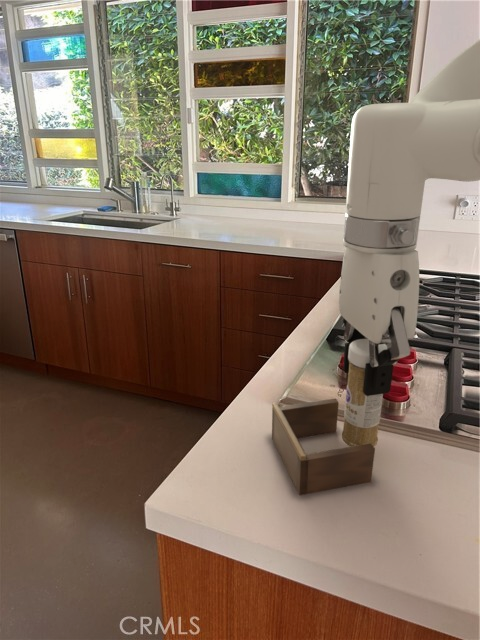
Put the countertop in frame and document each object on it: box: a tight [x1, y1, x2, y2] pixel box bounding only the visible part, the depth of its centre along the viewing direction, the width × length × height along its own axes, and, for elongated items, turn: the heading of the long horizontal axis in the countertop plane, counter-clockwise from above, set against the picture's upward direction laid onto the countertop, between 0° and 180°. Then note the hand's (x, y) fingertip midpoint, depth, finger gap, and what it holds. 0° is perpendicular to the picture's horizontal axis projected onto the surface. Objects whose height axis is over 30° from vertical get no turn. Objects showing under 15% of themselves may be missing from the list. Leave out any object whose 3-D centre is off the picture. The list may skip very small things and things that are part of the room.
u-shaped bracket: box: [271, 398, 376, 496], centre depth 58 cm, size 9×11×6 cm
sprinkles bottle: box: [341, 339, 387, 448], centre depth 57 cm, size 5×5×14 cm
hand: (365, 380), depth 56 cm, fingers closed on sprinkles bottle, 4 cm apart
